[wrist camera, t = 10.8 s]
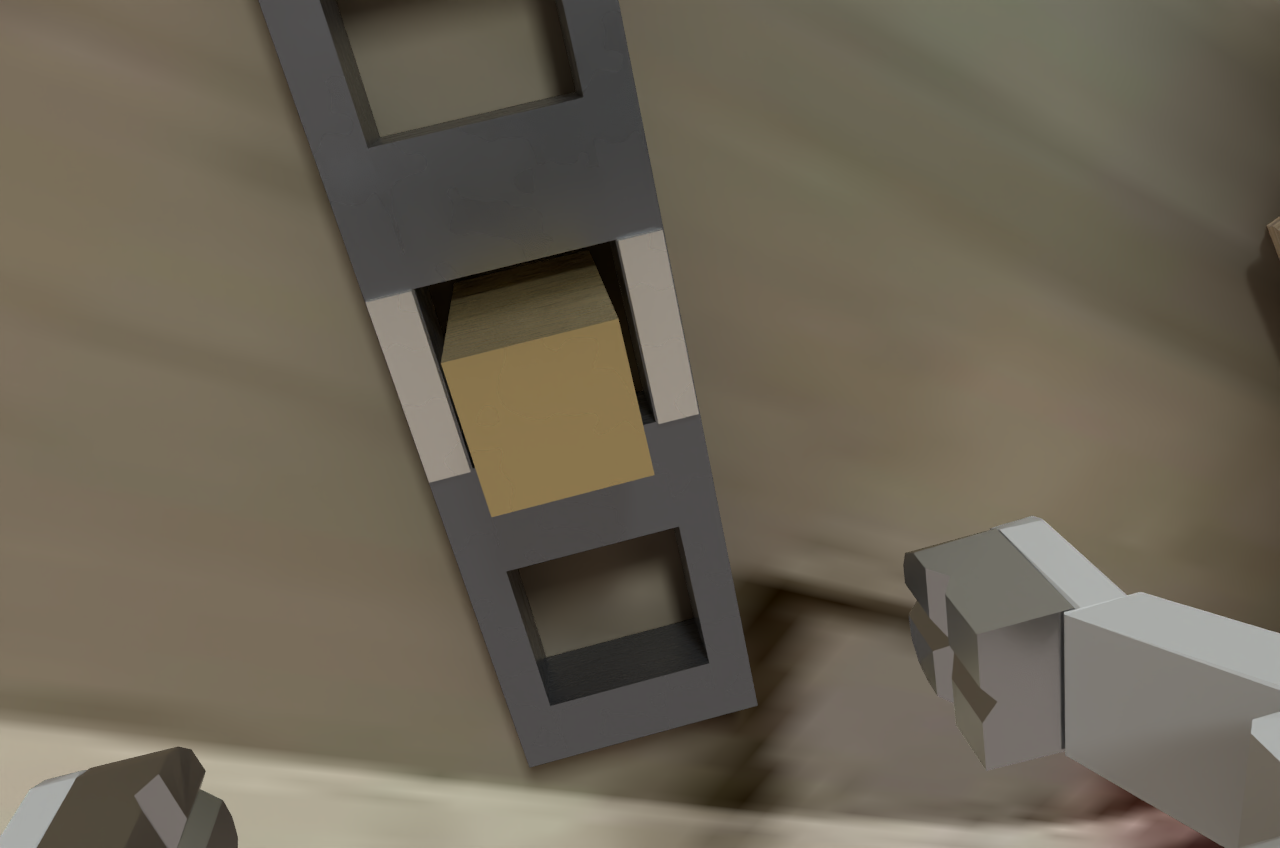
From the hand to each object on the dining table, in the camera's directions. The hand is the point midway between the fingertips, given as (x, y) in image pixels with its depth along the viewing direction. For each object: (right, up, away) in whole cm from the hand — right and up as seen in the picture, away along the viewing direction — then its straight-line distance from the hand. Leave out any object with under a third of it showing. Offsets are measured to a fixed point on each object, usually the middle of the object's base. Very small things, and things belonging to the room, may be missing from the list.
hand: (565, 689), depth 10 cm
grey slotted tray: (-2, +6, +17) cm, 18 cm away
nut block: (-2, +6, +17) cm, 18 cm away
